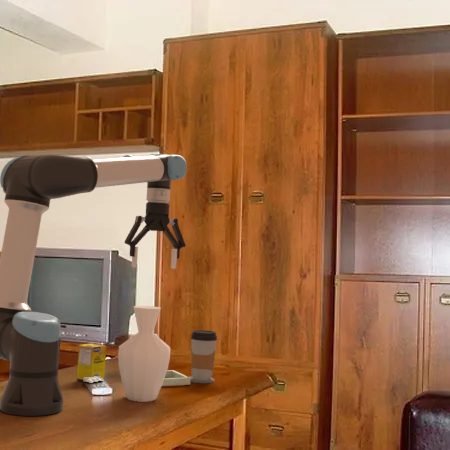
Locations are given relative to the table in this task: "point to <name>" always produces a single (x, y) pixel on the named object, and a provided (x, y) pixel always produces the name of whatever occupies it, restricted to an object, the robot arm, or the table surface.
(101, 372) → the supplement box
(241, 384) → the table surface
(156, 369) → the vase
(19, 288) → the robot arm
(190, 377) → the coaster
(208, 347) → the coffee cup
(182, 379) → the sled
